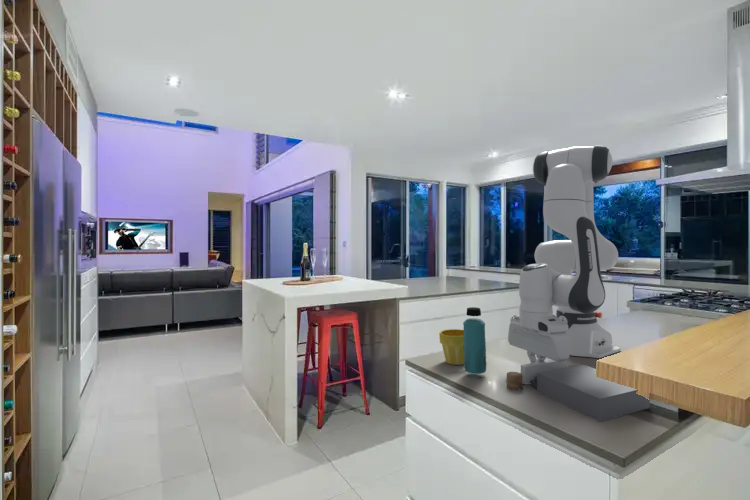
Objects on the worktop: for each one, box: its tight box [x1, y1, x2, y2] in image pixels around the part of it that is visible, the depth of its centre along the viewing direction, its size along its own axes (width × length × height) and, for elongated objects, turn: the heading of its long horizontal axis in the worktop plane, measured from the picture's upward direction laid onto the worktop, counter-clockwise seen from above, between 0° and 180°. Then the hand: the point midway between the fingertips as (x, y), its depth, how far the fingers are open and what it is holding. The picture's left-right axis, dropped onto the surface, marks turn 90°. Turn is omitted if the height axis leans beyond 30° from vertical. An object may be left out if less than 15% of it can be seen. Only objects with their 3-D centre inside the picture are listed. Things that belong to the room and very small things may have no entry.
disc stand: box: [506, 371, 524, 391], centre depth 104 cm, size 4×4×4 cm
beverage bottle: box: [462, 306, 488, 375], centre depth 113 cm, size 6×7×20 cm
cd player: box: [536, 363, 651, 422], centre depth 95 cm, size 18×16×5 cm
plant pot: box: [439, 328, 464, 366], centre depth 126 cm, size 10×10×10 cm
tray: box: [520, 359, 568, 388], centre depth 101 cm, size 18×15×5 cm
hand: (536, 368), depth 111 cm, fingers closed
